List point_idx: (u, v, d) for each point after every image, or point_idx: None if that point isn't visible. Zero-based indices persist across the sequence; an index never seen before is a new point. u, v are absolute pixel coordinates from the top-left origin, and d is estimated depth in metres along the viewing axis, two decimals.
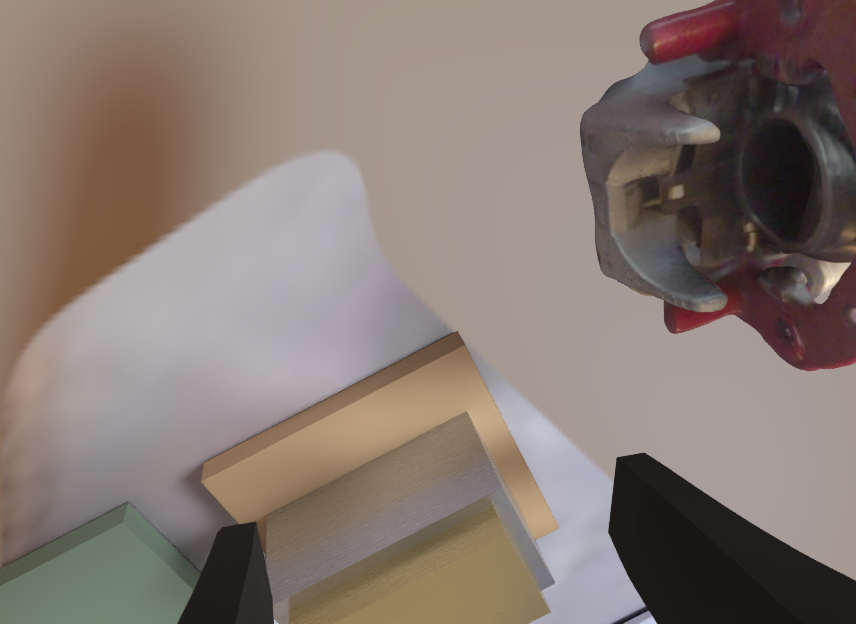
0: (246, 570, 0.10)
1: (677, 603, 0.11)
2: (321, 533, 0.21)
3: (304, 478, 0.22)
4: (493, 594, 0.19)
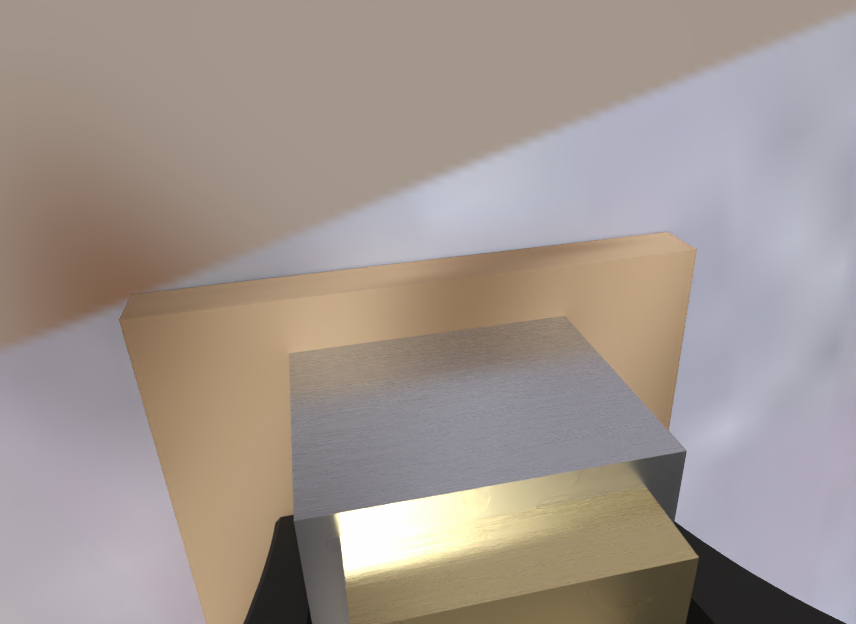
0: None
1: None
2: None
3: None
4: None
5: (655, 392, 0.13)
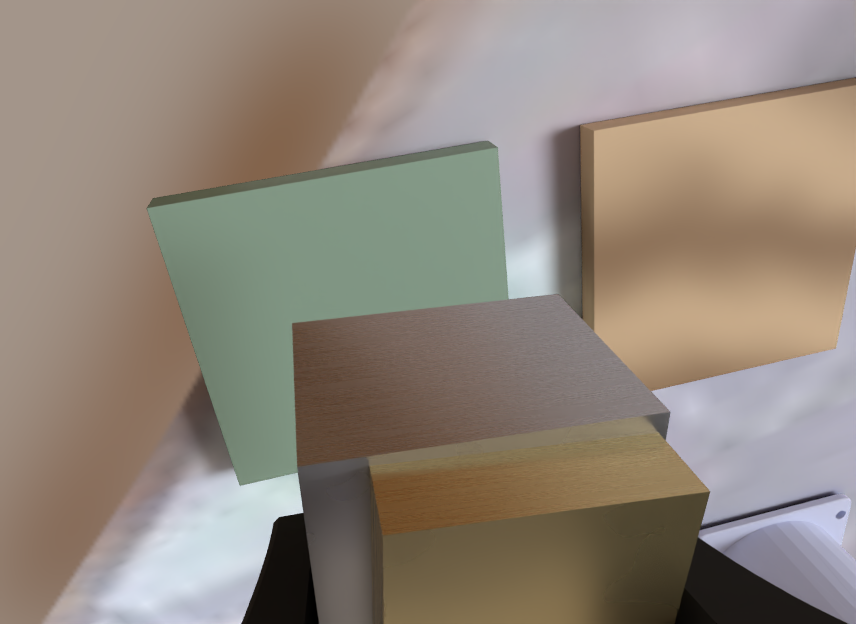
0: (309, 558, 0.10)
1: None
2: None
3: (679, 174, 0.20)
4: (546, 587, 0.08)
5: (766, 355, 0.24)
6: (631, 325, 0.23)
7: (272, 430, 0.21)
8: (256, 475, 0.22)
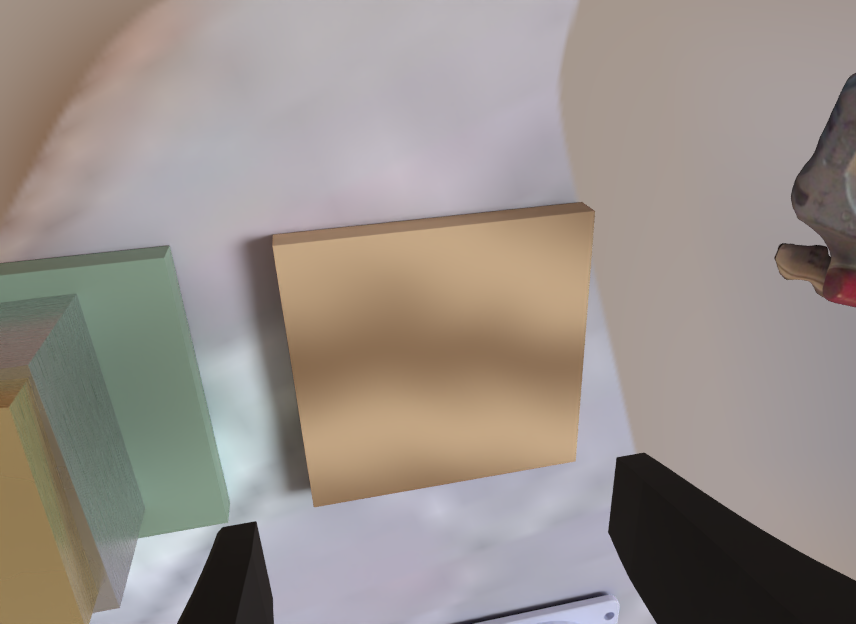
0: (245, 571, 0.10)
1: (677, 603, 0.11)
2: None
3: (375, 291, 0.20)
4: None
5: (499, 465, 0.24)
6: (344, 433, 0.22)
7: None
8: None
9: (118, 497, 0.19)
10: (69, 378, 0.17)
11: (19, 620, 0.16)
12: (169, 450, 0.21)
